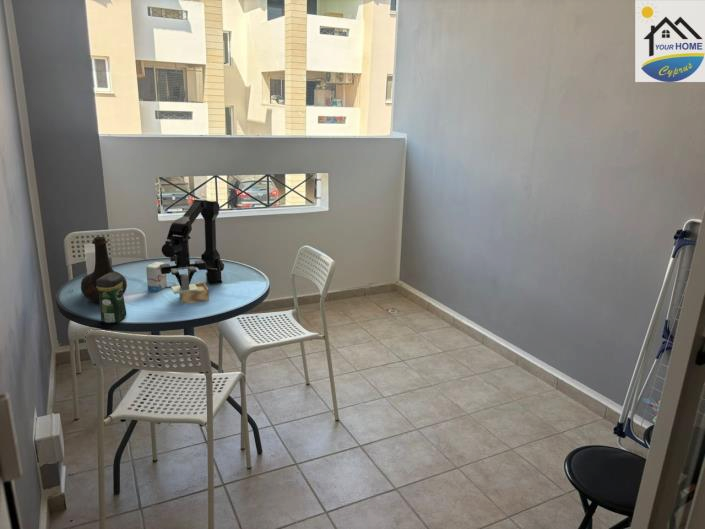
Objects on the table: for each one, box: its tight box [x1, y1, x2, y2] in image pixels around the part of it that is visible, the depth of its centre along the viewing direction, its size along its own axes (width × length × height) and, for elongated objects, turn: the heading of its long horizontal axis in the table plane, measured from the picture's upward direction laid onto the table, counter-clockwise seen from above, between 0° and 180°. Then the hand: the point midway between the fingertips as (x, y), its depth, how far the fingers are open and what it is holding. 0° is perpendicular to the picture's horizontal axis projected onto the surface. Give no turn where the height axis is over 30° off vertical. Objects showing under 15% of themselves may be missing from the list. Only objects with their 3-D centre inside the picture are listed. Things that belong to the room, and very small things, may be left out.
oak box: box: [178, 282, 210, 305], centre depth 227 cm, size 11×10×5 cm
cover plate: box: [171, 273, 198, 295], centre depth 224 cm, size 10×8×6 cm
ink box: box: [145, 261, 168, 293], centre depth 237 cm, size 9×5×12 cm, turn 168°
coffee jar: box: [96, 272, 128, 324], centre depth 202 cm, size 10×8×19 cm
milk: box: [83, 243, 95, 275], centre depth 231 cm, size 6×6×22 cm
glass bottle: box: [80, 236, 128, 304], centre depth 220 cm, size 18×18×28 cm
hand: (184, 285), depth 224 cm, fingers closed on cover plate, 3 cm apart
